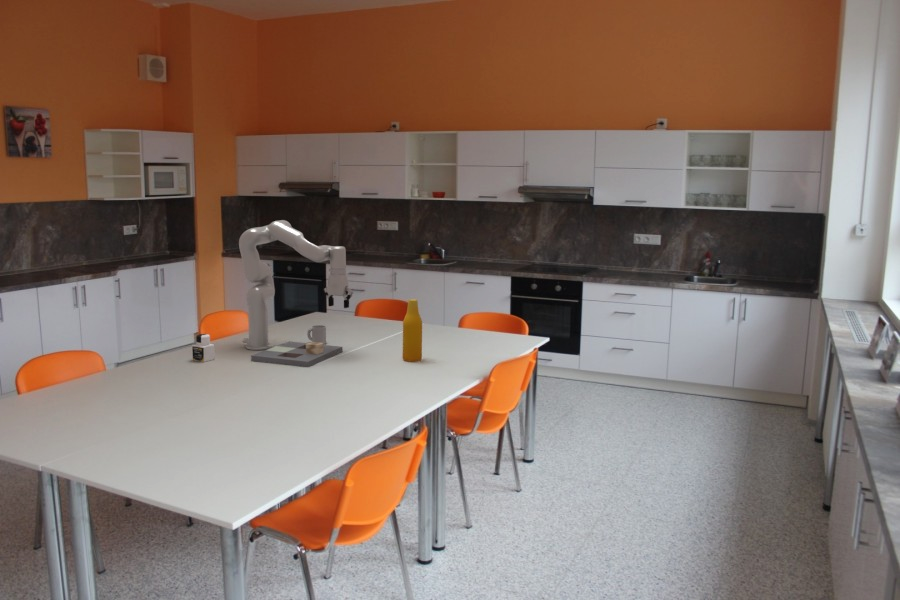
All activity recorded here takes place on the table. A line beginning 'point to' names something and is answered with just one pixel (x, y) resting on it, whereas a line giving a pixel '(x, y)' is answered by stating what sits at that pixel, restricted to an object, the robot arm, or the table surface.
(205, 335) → the medicine bottle
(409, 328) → the beer bottle
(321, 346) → the beech block
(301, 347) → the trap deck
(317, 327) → the cup
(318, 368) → the table surface
